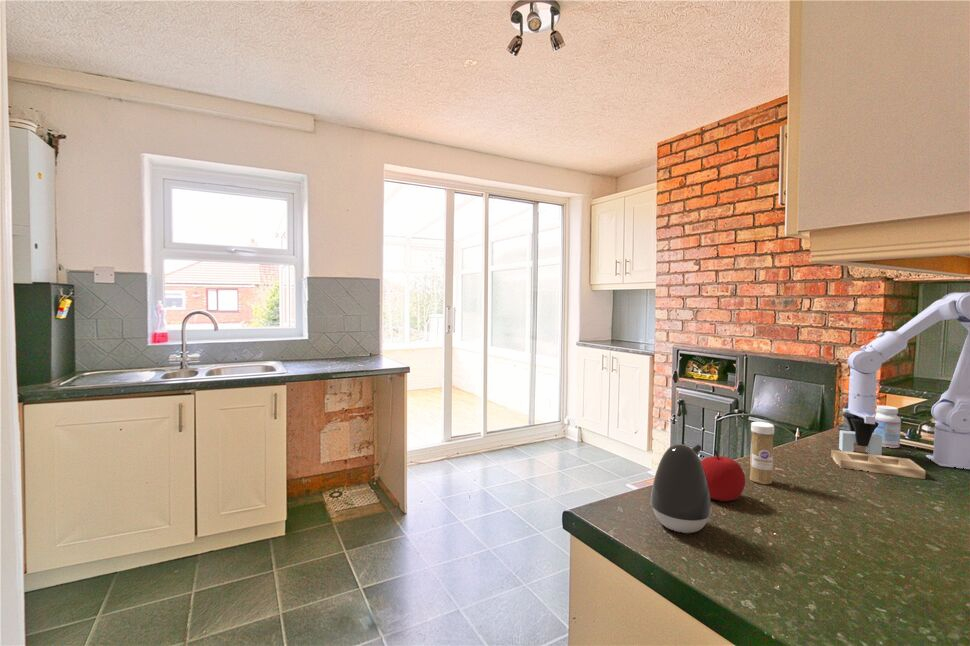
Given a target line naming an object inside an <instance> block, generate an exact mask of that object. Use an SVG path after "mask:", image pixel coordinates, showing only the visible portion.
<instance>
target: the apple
mask: <svg viewBox="0 0 970 646" xmlns="http://www.w3.org/2000/svg"><path fill="white" fill-rule="evenodd" d="M714 453H715V456H714V455H713V456H712V455H711V456H708V457H705V458H703V459H702V460H700V461H701V464H702V466H703V469H704V472H705V475H706V479H707V482H708V487H709V492H710V499H711V500H716V501H720V502H729V501H735V500H737V499H739V497H740V496H741V495H742V494H743V491H744V489H745V486H746V476H745V472H744V470H743V469H742V467H741V465H740V464H739V463H738V461H736V460H734V459H733V458H729V457H726V456H719V455H718V452H717V450H714Z"/></svg>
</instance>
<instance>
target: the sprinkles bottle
mask: <svg viewBox="0 0 970 646" xmlns="http://www.w3.org/2000/svg"><path fill="white" fill-rule="evenodd" d="M750 423H751V424H750V431H751V442H750V457H749V458H750V459H749V460H750V461H749V465H750V472H749V474H750V475H749V479H750V481H751V482H753V483H757V484H761V485H771V484H772V483H773V479H772V478H773V462H774V435H775V425H774V424H773V423H769V422H763V421H753V422H750Z"/></svg>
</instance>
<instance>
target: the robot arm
mask: <svg viewBox="0 0 970 646" xmlns="http://www.w3.org/2000/svg"><path fill="white" fill-rule="evenodd" d="M947 320H948V321H949V320H956V321H958V322H959V323H960V324H961V325H962V326H963V327H964V328H965V329H966V330H967V331H968V332H967V335H966V338H965V341H964V344H963V346H962V349H961V351H960V354H959V358H958V361H957V363H956V366H955V369H954V373H953V376H952V379H951V381H950V383H949V386H948V389H947V390H945V391H944V392H943V393H942V394H941V395H940V398H939V400H938V401H937V402H936V403H935V404H933V405H932V406H931V411H930V413H931V416H932V417H933V419H935V421H936V422H935V424H934V436H933V438H934V439H933V454H926V455H925V457H926V458H928V459H929V460H930V459H931V461H932V462H933V463H934V464H936V465H938V466H941V467H947V468H954V467H956V469H963V468H964V469H963V470H970V291H968V292H950V293H948V294H946V295H944V296H943V297H941V299H937V300H935V301H934V302H933V303H931V304H930V305H929V306H928V307H926V308H925V309H923V310H922V311H921V312H919V313H918V314H917V315H915V316H914V317H913V318H912V319H910V320H908V322H906V323H905V324H903V326H901V327H900V328H898V329H897V330H895V331H893V330H890V331H889V330H887V331H885V332H879V333H878V334H876V338H875V339H873V340H872V341H871V342H869V343H868V344H867V345H864V344H863V345H861V346H860V349H861V350H856V351H853V352H852V353H850V354H849V356H848V358H847V359H846V364H847V365H848V366H849V368H850V369H849V377H848V378H849V381H848V403H847V404H848V409H844V407H843V408H842V412H843V413H844V412H848V413H851V414H852V415H845V417H846V419H847V421H848V423H849V426H850V430H851V431H854V432H855V435H856V442H857V443H856V445H857V446H858V447H861V446H862V447H866V446H868V444H869V441H870V438H871V436H872V433H873V432H874V430H875V429H876V428H877V426H878V425H879V423H877V422H875V416H876V413H877V412H876V407H877V405H876V403H877V401H876V400H877V380H878V379H877V372H878V371H880V369H881V368H882V365H883V363H886V361H889V359H891V358H893V357H894V356H896V355H897V354H899V353H900V352H902V351H904V350H905V349H906V348H907V347H908V341H909V340H911V339H912V338H914V337H915V336H917V335H918V334H920V333H922V332H924V331H925V330H926V329H928V328H930V327H932V326H933V325H934V324H936V323H938V322H940V321H947Z"/></svg>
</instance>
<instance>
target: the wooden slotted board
mask: <svg viewBox="0 0 970 646" xmlns="http://www.w3.org/2000/svg"><path fill="white" fill-rule="evenodd" d="M831 457H832V458H833V459H832V460H833V461H834V462H835V464H836V465H837V464H838V465H839V466H840V467H839V466H838V465H837V466H838V467H839V468H840V469H844V468H846V470H851V469H854V470H853V471H859V470H863V471H862V472H867V471H869V473H875V474H883V475H892V476H899V477H907V478H914V479H920V480H921V479H922V480H925V479H926V470H925V469H924V468H923V467H922V466H920V465H919V464H918V463H916V462H915V461H914V460H912V459H911V458H905V457H897V456H888V455H882V456H881V455H873V454H867V453H863V452H862V453H861V452H854V451H853V452H847V451H840V450H839V449H838V450H836V449H831V451H830V458H831Z"/></svg>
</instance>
